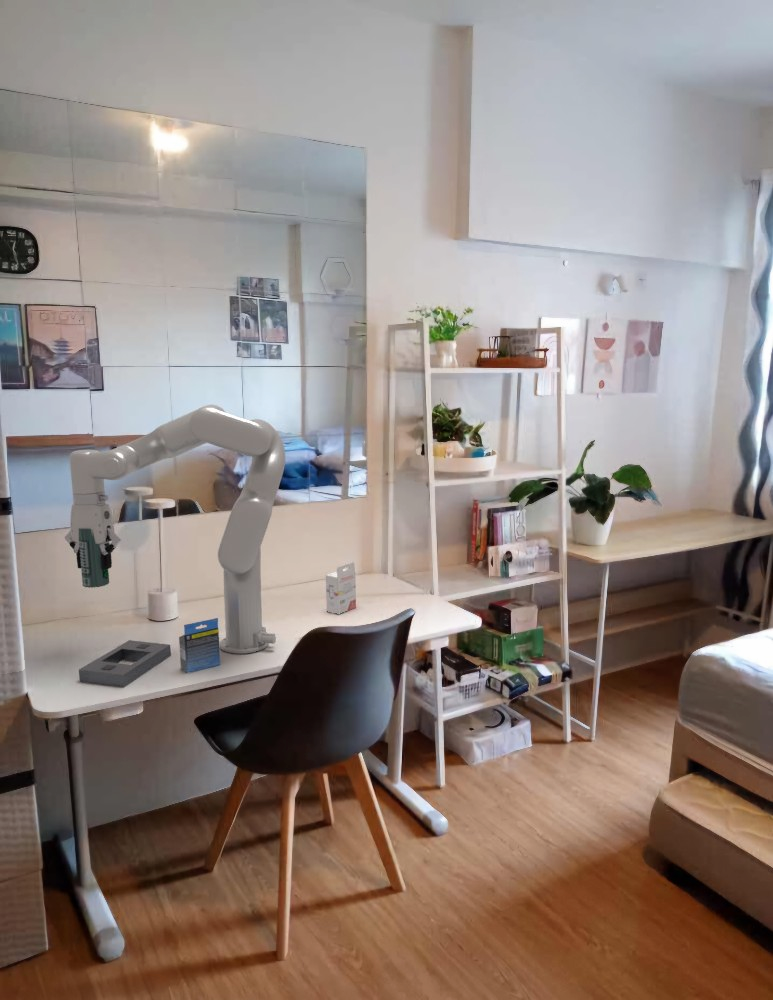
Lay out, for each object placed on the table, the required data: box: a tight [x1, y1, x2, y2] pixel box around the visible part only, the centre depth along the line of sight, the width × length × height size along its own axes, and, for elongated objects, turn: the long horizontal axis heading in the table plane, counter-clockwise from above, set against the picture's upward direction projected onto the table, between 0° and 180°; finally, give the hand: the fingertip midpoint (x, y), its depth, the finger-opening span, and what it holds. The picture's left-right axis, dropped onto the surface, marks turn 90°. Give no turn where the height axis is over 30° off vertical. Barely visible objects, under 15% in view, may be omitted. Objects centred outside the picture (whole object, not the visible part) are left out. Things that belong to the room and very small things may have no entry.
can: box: [79, 529, 110, 588], centre depth 192 cm, size 6×6×15 cm
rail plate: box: [78, 639, 172, 688], centre depth 185 cm, size 12×20×3 cm, turn 164°
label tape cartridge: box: [178, 617, 221, 674], centre depth 185 cm, size 9×4×12 cm, turn 127°
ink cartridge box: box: [325, 561, 357, 615], centre depth 228 cm, size 9×5×15 cm, turn 143°
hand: (94, 567), depth 193 cm, fingers closed on can, 6 cm apart
